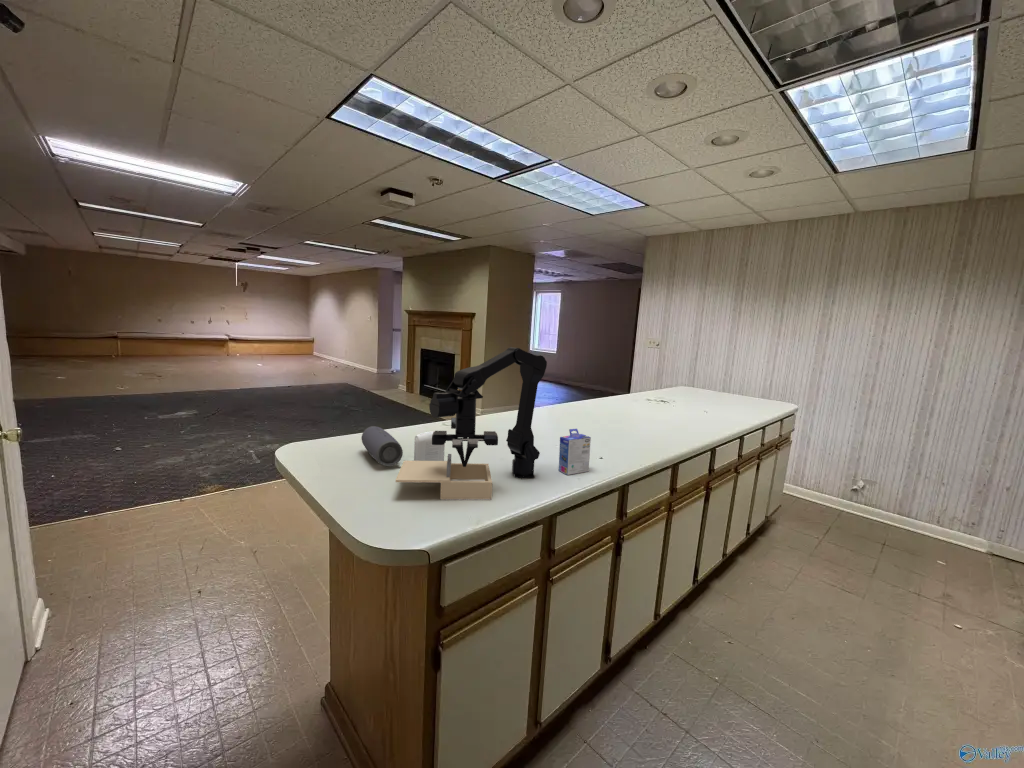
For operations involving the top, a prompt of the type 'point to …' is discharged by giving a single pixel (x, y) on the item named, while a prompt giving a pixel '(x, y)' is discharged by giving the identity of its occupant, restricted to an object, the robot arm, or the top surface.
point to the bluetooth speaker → (382, 446)
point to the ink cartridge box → (574, 453)
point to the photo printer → (427, 448)
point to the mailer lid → (425, 471)
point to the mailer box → (468, 483)
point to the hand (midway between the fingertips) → (464, 466)
